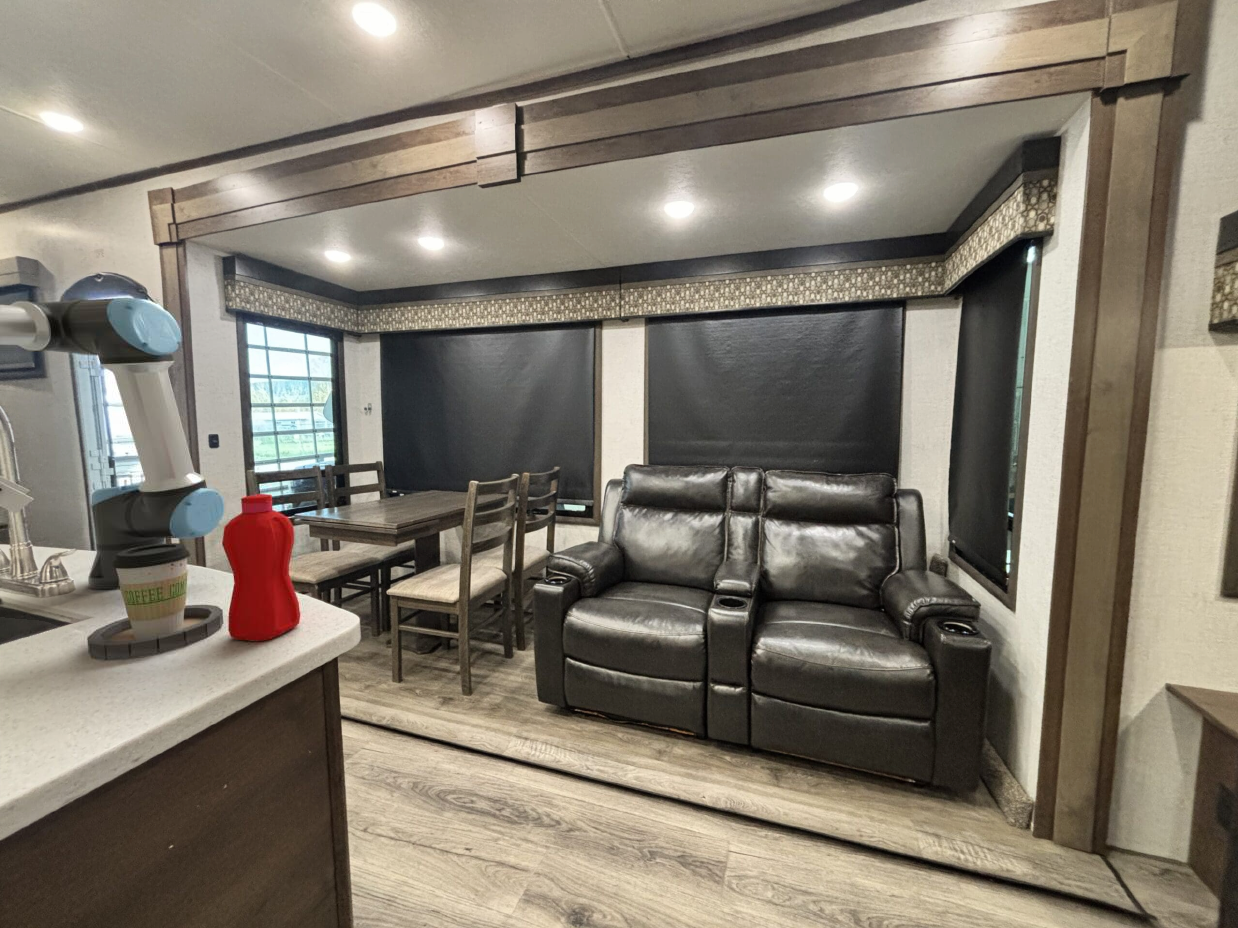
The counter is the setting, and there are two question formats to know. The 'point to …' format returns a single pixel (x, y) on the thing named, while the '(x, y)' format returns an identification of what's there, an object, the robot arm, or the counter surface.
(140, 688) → the counter surface
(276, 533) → the red curved bottle
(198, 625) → the round tray
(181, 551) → the coffee cup
